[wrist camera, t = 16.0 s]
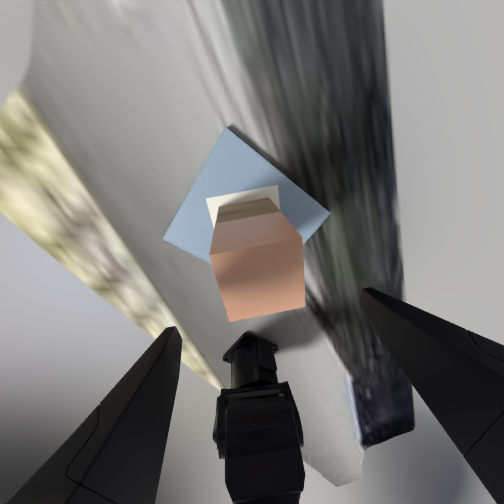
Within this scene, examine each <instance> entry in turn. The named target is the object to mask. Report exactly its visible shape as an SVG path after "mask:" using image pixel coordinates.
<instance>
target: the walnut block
mask: <svg viewBox="0 0 504 504" xmlns="http://www.w3.org/2000/svg"><path fill="white" fill-rule="evenodd" d="M279 211H280V210H279V209H278V208H277V206H276V205H275V204H274V203H273V202H272V200H271V199H270V198H269V197H268V198H263V199H257V200H252V201H247V202H242V203H237V204H231V205H226V206H221V207H219V208H218V213H217V219H216V224H217V223H222V222H227V221H232V220H237V219H243V218H248V217H253V216H258V215H263V214H269V213H274V212H279Z"/></svg>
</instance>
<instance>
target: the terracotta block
mask: <svg viewBox="0 0 504 504" xmlns="http://www.w3.org/2000/svg"><path fill="white" fill-rule="evenodd" d="M209 257H210V260H211V263H212V266H213V270H214V273H215V276H216V279H217V283H218V286H219V289H220V292H221V296H222V299H223V302H224V305H225V309H226V312H227V315H228V318H229V322H233V321H238V320H243V319H248V318H253V317H258V316H263V315H268V314H273V313H278V312H283V311H288V310H293V309H298V308H303V307H305V284H304V261H303V239H302V236H301V235H300V234H299V233H298V231H297V230H296V229H295V228H294V227H293V225H292V224H291V223H290V222H289V221H288V220H287V218H286V217H285V216H284V215H283V214H282V212H281V211H279V212H274V213H269V214H263V215H258V216H253V217H248V218H243V219H237V220H232V221H227V222H222V223H217V224H215V227H214V233H213V238H212V243H211V248H210V253H209Z"/></svg>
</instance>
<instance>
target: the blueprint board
mask: <svg viewBox="0 0 504 504" xmlns="http://www.w3.org/2000/svg"><path fill="white" fill-rule="evenodd" d="M268 197H269V198H270V199H271V200H272V202H273V203H274V204H275V205H276V206H277V208H278V209H279V210H280V211H281V212H282V214H283V215H284V216H285V217H286V218H287V220H288V221H289V222H290V223H291V224H292V225H293V227H294V228H295V229H296V230H297V231H298V233H299V234H300V235H301V236H302V239H303V244H304V243H305V242H306V241H307V240H308V239H309V237H310V236H311V235H312V234H313V233H314V232H315V231H316V229H317V228H318V227H319V226H320V225H321V224H322V223H323V221H324V220H325V219H326V218H327V217H328V216H329V215H330V212H329V211H328V210H326V209H325V208H324V207H323V206H321V205H320V204H319V203H318V202H317V201H315V200H314V199H313V198H312V197H310V196H309V195H308V194H307V193H306V192H304V191H303V190H302V189H301V188H299V187H298V186H297V185H296V184H295V183H293V182H292V181H291V180H290V179H288V178H287V177H286V176H285V175H284V174H282V173H281V172H280V171H279V170H277V169H276V168H275V167H274V166H273V165H271V164H270V163H269V162H268V161H266V160H265V159H264V158H263V157H262V156H260V155H259V154H258V153H257V152H255V151H254V150H253V149H252V148H251V147H249V146H248V145H247V144H246V143H244V142H243V141H242V140H241V139H240V138H238V137H237V136H236V135H235V134H233V133H232V132H231V131H230V130H229V129H227V128H226V127H225V129H224V131H223V133H222V134H221V136H220V138H219V140H218V141H217V143H216V145H215V147H214V149H213V150H212V152H211V154H210V156H209V157H208V159H207V161H206V163H205V165H204V166H203V168H202V170H201V172H200V173H199V175H198V177H197V179H196V181H195V182H194V184H193V186H192V188H191V189H190V191H189V193H188V195H187V197H186V198H185V200H184V202H183V204H182V205H181V207H180V209H179V211H178V213H177V214H176V216H175V218H174V220H173V221H172V223H171V225H170V227H169V229H168V230H167V232H166V234H165V236H164V237H163V239H164V240H166V241H168V242H170V243H172V244H174V245H176V246H178V247H179V248H181V249H183V250H185V251H187V252H189V253H191V254H193V255H195V256H197V257H199V258H201V259H203V260H204V261H206V262H208V263H210V264H212V263H211V260H210V257H209V253H210V248H211V243H212V238H213V233H214V227H215V224H216V219H217V213H218V208H219V207H221V206H226V205H231V204H237V203H242V202H247V201H252V200H257V199H263V198H268Z"/></svg>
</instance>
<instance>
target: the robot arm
mask: <svg viewBox="0 0 504 504" xmlns="http://www.w3.org/2000/svg"><path fill="white" fill-rule="evenodd" d="M359 303H360V306H361V308H362V310H363V312H364V313H365V315H366V317H367V319H368V320H369V322H370V324H371V326H372V327H373V329H374V331H375V332H376V334H377V336H378V337H379V339H380V340H381V342H382V343H383V344H384V346H385V347H386V349H387V350H388V351H389V353H390V354H391V356H392V357H393V358H394V360H395V361H396V363H397V364H398V365H399V367H400V368H401V370H402V371H403V372H404V374H405V375H406V377H407V378H408V379H409V381H410V382H411V384H412V385H413V386H414V388H415V389H416V391H417V392H418V393H419V395H420V396H421V398H422V399H423V400H424V402H425V403H426V405H427V406H428V407H429V409H430V410H431V412H432V413H433V414H434V416H435V417H436V419H437V420H438V421H439V423H440V424H441V425H442V427H443V428H444V430H445V431H446V432H447V434H448V435H449V437H450V438H451V440H452V441H453V442H454V444H455V445H456V447H457V448H458V449H459V451H460V452H461V454H463V457H464V458H465V460H466V461H467V462H468V464H469V465H470V467H471V468H472V469H473V471H474V472H475V474H476V475H477V476H478V478H479V479H480V481H481V482H482V483H483V485H484V486H485V488H486V489H487V490H488V492H489V493H490V495H491V496H492V497H493V499H494V500H495V501H496V503H497V504H504V345H502V344H499V343H497V342H495V341H492V340H490V339H488V338H485V337H483V336H480V335H478V334H476V333H474V332H471V331H469V330H466V329H464V328H462V327H460V326H458V325H455V324H453V323H451V322H449V321H446V320H444V319H442V318H439V317H437V316H435V315H433V314H430V313H428V312H425V311H423V310H421V309H419V308H417V307H414V306H412V305H410V304H408V303H405V302H403V301H401V300H398V299H396V298H394V297H392V296H389V295H387V294H385V293H383V292H380V291H378V290H376V289H373V288H371V287H369V288H364V289H362V290H361V293H360V300H359ZM181 349H182V338H181V335H180V333H179V331H178V329H177V328H176V327H175V326H172V327H168V328H166V329H165V330H164V331H163V332H162V333H161V334H160V335H159V337H158V338H157V339H156V340H155V342H153V343H152V344H151V346H150V347H149V348H148V349H147V350H146V351H145V353H144V354H143V355H142V356H141V357H140V358H139V359H138V361H137V362H136V363H135V364H134V365H133V366H132V367H131V369H130V370H129V371H128V372H127V373H126V374H125V375H124V377H122V379H121V380H120V381H119V382H118V383H117V384H116V385H115V387H114V388H113V389H112V390H111V391H110V392H109V393H108V394H107V396H106V397H105V398H104V399H103V400H102V401H101V402H100V405H98V406H97V407H96V408H95V409H94V410H93V411H92V413H91V414H90V415H89V416H88V417H87V418H86V419H85V421H84V422H83V423H82V424H81V425H80V426H79V427H78V428H77V429H76V430H75V432H74V433H73V434H72V435H71V436H70V437H69V438H68V439H67V440H66V441H65V442H64V443H63V444H62V445H61V446H60V447H59V448H58V449H57V450H56V452H54V454H53V455H52V456H51V457H50V458H49V459H48V460H47V461H46V462H45V463H44V464H43V465H42V466H41V467H40V468H39V469H38V470H37V471H36V472H35V473H34V474H33V475H32V476H31V477H30V478H29V479H28V480H27V481H26V482H25V483H24V484H23V485H22V486H21V487H20V488H19V489H18V490H17V492H16V493H15V494H14V495H13V496H12V497H11V498H10V499H9V500H8V501H7V502H6V503H5V504H155V500H156V494H157V489H158V484H159V479H160V474H161V468H162V463H163V457H164V453H165V448H166V442H167V437H168V431H169V427H170V421H171V416H172V411H173V406H174V400H175V395H176V390H177V384H178V379H179V372H180V361H181ZM277 351H278V346H277V345H275V344H272V343H270V342H267V341H265V340H263V339H260V338H258V337H255V336H253V335H250V334H248V333H245V334H243V335H242V336H241V337H240V339H239V340H238V341H237V342H236V343H235V344H234V345H233V346H232V347H231V348H230V349H229V350H228V352H227V353H226V354H225V355H224V356H223V361H225V362H228V363H231V389H221V395H220V396H219V397H218V398H217V407H216V417H215V423H214V429H213V440H214V442H215V443H216V444H217V449H218V451H219V459H225V483H226V487H227V489H228V492H229V494H230V497H231V499H232V502H233V504H299V499H300V494H301V492H302V491H303V488H304V480H305V471H304V465H303V460H302V454H301V449H300V448H301V447H303V444H304V441H303V431H302V425H301V421H300V417H299V413H298V410H297V407H296V404H295V401H294V398H293V395H292V393H291V390H290V387H289V384H288V381H286V382H283V383H278V379H277V374H276V371H277V366H276V362H275V357H274V353H276V352H277Z"/></svg>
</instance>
